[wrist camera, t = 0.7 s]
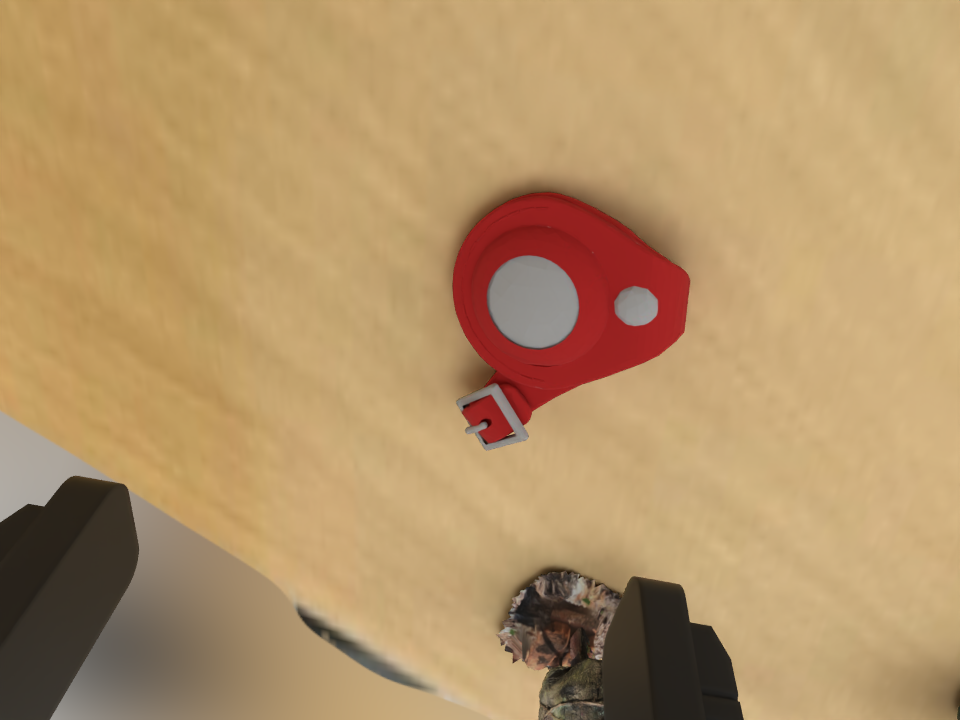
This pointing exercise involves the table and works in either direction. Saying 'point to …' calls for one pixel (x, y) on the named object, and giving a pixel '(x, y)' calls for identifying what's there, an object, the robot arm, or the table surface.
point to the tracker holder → (557, 306)
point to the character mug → (959, 715)
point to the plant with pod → (563, 641)
